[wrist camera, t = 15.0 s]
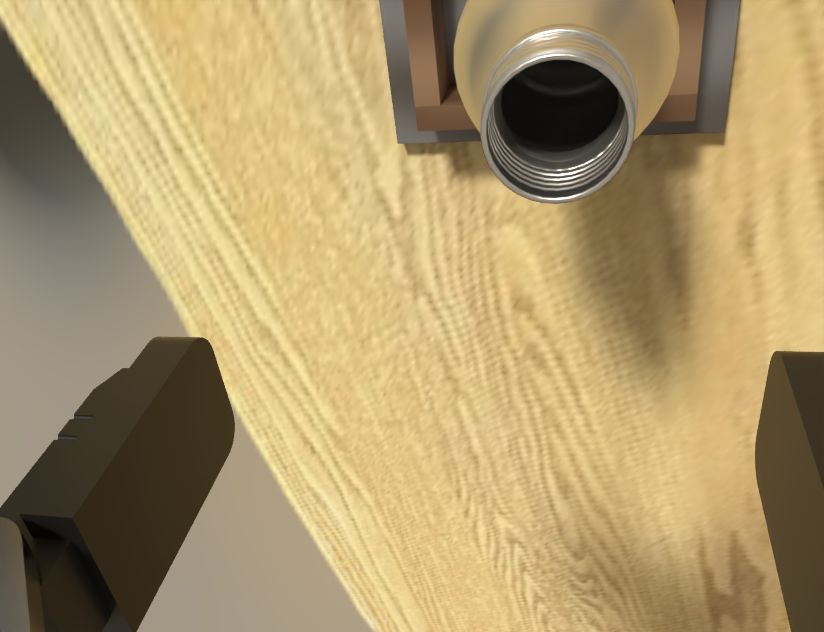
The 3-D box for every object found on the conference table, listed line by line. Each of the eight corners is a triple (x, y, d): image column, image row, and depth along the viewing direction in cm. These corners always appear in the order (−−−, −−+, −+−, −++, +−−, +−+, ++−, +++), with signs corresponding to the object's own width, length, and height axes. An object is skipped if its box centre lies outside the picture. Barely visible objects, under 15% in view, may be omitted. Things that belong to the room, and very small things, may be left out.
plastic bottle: (489, 28, 36) (409, 239, 20) (509, -139, 33) (430, -39, 16) (629, 45, 36) (660, 277, 20) (667, -123, 32) (744, -2, 16)
